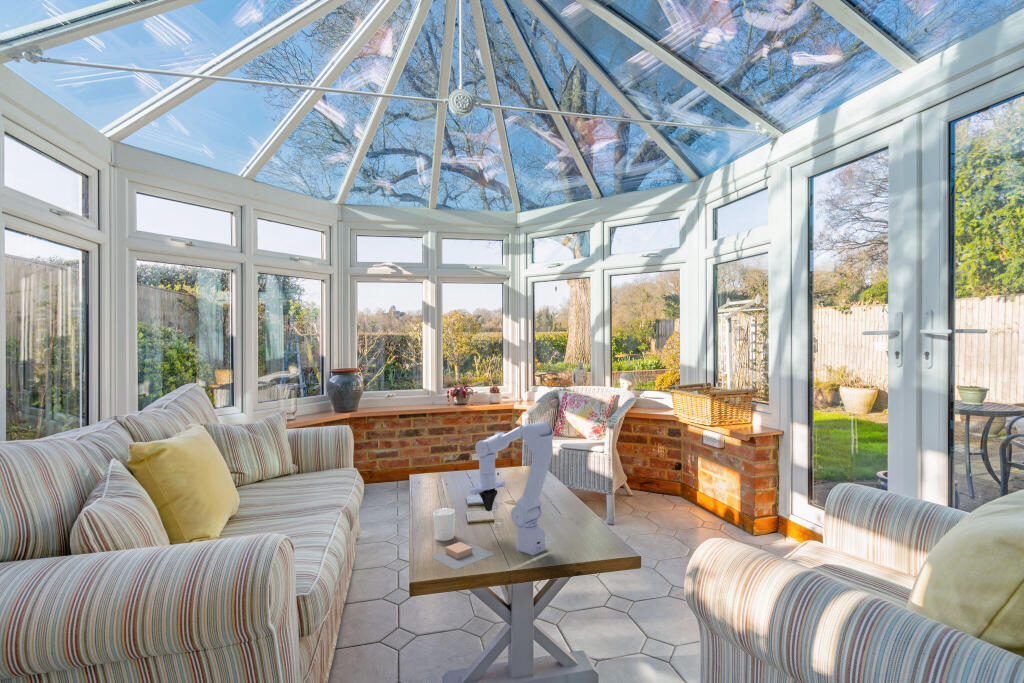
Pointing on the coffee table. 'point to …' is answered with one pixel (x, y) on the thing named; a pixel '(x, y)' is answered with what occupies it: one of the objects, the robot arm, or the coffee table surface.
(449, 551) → the block
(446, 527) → the white cup
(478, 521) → the coffee table surface
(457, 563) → the felt mat
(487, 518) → the coffee table surface
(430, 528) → the coffee table surface
